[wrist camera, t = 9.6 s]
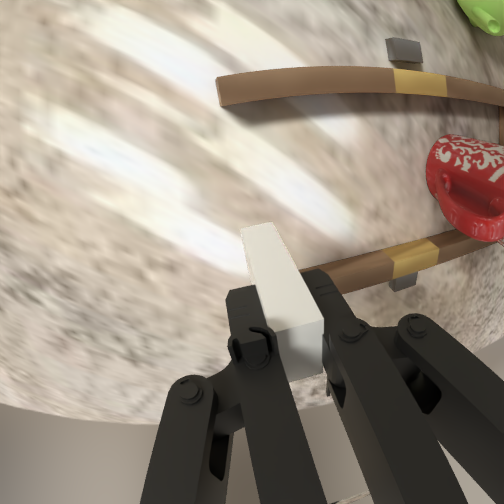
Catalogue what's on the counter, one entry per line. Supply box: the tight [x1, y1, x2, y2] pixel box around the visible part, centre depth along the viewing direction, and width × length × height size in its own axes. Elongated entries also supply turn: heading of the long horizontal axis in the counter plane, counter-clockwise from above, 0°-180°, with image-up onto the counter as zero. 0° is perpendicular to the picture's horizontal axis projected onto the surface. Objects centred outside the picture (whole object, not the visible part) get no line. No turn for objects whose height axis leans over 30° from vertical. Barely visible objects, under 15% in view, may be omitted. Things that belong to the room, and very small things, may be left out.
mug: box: [426, 134, 504, 246], centre depth 18 cm, size 13×9×14 cm
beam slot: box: [216, 37, 504, 295], centre depth 22 cm, size 25×34×2 cm
